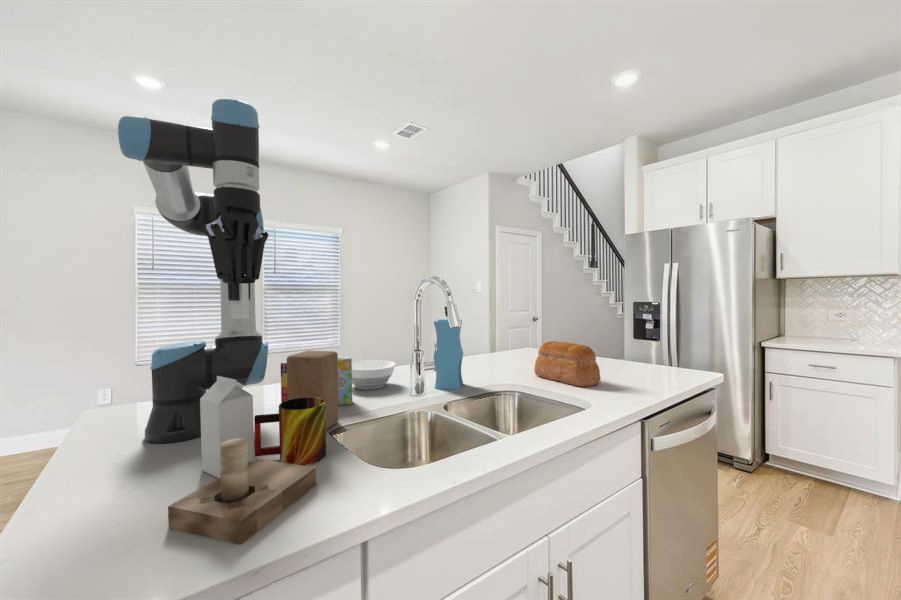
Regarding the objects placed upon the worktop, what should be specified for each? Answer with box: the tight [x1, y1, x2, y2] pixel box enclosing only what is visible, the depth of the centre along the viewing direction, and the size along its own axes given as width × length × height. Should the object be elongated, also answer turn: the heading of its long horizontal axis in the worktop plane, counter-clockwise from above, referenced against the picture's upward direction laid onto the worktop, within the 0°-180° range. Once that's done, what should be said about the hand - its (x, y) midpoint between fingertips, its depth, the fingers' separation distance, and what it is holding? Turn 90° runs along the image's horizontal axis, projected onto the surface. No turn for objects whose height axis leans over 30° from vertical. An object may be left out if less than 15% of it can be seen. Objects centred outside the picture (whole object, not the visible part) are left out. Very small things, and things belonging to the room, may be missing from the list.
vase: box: [433, 318, 464, 391], centre depth 150 cm, size 10×10×25 cm
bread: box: [533, 340, 601, 388], centre depth 159 cm, size 14×26×15 cm, turn 34°
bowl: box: [352, 359, 396, 391], centre depth 151 cm, size 19×20×8 cm
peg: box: [220, 438, 249, 504], centre depth 65 cm, size 4×4×12 cm
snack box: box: [280, 355, 353, 407], centre depth 126 cm, size 21×6×15 cm, turn 108°
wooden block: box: [286, 350, 340, 431], centre depth 106 cm, size 10×10×20 cm
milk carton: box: [200, 376, 255, 479], centre depth 82 cm, size 7×7×19 cm
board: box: [167, 458, 317, 545], centre depth 68 cm, size 14×18×4 cm
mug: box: [253, 397, 327, 466], centre depth 87 cm, size 10×14×12 cm
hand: (240, 318), depth 74 cm, fingers closed
